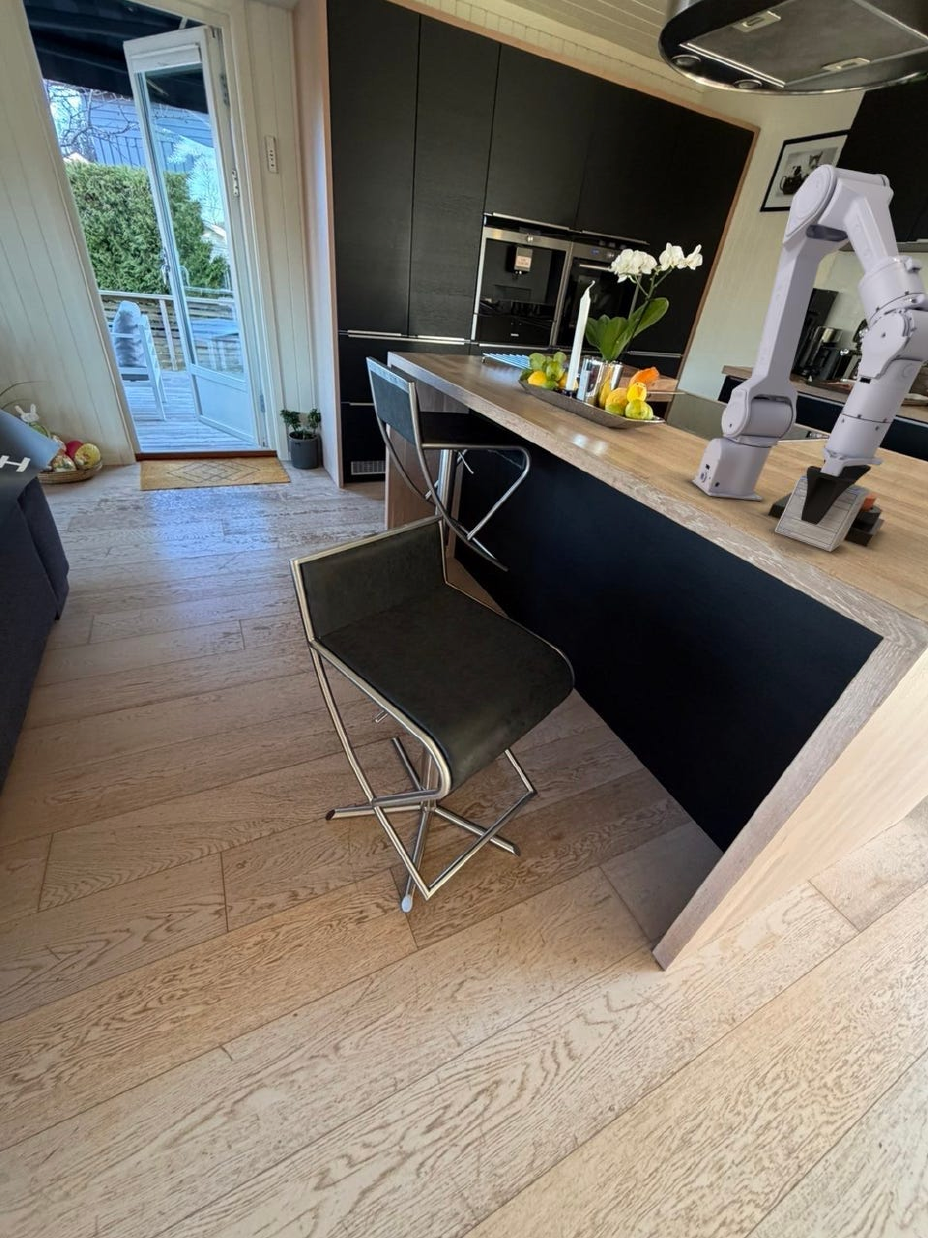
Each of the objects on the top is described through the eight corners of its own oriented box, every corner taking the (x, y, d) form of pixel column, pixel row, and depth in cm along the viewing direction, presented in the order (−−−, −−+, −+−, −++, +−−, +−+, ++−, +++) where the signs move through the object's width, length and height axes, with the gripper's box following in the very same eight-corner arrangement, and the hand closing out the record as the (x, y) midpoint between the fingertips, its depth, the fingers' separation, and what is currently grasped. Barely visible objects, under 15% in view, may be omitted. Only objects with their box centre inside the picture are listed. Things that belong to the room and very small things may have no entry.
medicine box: (840, 546, 75) (872, 488, 70) (829, 553, 73) (862, 493, 68) (784, 526, 80) (811, 471, 75) (773, 532, 77) (799, 475, 73)
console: (866, 547, 76) (880, 521, 74) (767, 515, 84) (778, 491, 81) (878, 531, 82) (892, 507, 80) (785, 503, 90) (795, 480, 88)
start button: (867, 513, 78) (874, 500, 77) (840, 505, 80) (847, 492, 79) (871, 508, 80) (878, 495, 79) (845, 501, 82) (852, 488, 81)
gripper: (892, 430, 60) (835, 538, 68) (910, 419, 70) (857, 515, 77) (826, 416, 64) (778, 519, 71) (851, 407, 73) (806, 499, 81)
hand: (816, 516), depth 74 cm, fingers open, 7 cm apart
